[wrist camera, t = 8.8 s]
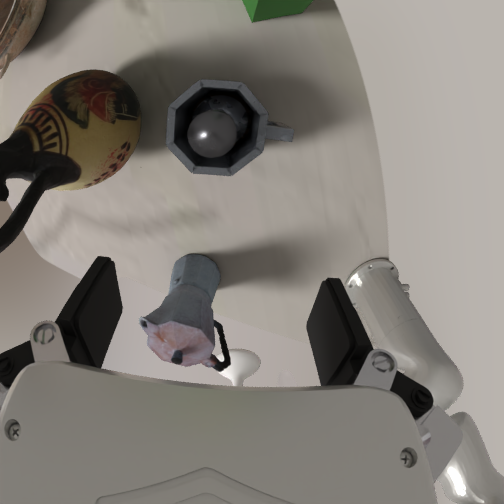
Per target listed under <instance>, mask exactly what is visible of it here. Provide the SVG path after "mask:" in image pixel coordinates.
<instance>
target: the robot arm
mask: <svg viewBox="0 0 504 504" xmlns="http://www.w3.org/2000/svg"><path fill="white" fill-rule="evenodd" d="M398 277H399V276H398V270H397V268H396V267H395V265H394V264H393V263H392V262H390V261H389V260H386V259H374V260H371V261H368V262H366V263H364V264H362V265H361V266H359V267H358V268H357V269H356V270H355V271H354V272H353V273H352V274H351V275H350V277H349V278H348V280H347V282H346V284H345V288H344V286H343V284H342V282H341V280H340V279H339V278H327V279H326V281H323V282H322V284H321V286H320V289H319V292H318V295H317V297H316V300H315V303H314V305H313V308H312V311H311V313H310V316H309V318H308V321H307V332H308V336H309V340H310V344H311V348H312V351H313V355H314V359H315V363H316V367H317V371H318V375H319V379H320V383H321V386H310V387H241V386H222V385H207V384H197V383H186V382H178V381H170V380H163V379H156V378H149V377H143V376H137V375H131V374H126V373H121V372H116V371H111V370H106V369H101V367H102V364H103V361H104V358H105V355H106V353H107V350H108V347H109V345H110V342H111V339H112V337H113V334H114V331H115V329H116V326H117V324H118V321H119V319H120V316H121V314H122V308H123V306H122V301H121V296H120V292H119V286H118V281H117V275H116V269H115V263H114V261H111V258H109V257H102V256H98V257H97V258H96V259H95V261H94V262H93V264H92V265H91V267H90V268H89V269H88V271H87V272H86V274H85V275H84V277H83V278H82V280H81V281H80V283H79V284H78V285H77V287H76V288H75V290H74V291H73V293H72V294H71V296H70V298H69V299H68V301H67V302H66V304H65V306H64V307H63V309H62V311H61V313H60V314H59V316H58V318H57V319H56V321H55V322H52V321H43V322H40V323H38V324H37V325H36V326H34V328H33V329H32V331H31V334H30V340H29V341H27V342H25V343H23V344H21V345H18V346H16V347H14V348H12V349H10V350H7V351H5V352H3V353H1V354H0V504H438V503H437V497H436V493H435V487H434V483H435V481H436V480H437V481H439V482H440V483H441V485H442V487H443V490H444V493H445V495H446V497H447V498H448V499H449V500H451V501H453V502H456V503H458V504H504V477H503V476H502V475H501V474H500V473H499V472H497V470H496V469H495V468H494V467H493V465H492V463H491V460H490V457H489V455H488V452H487V450H486V447H485V445H484V442H483V440H482V437H481V435H480V433H479V430H478V428H477V426H476V425H475V422H474V421H473V419H472V418H471V416H470V415H469V414H467V413H465V412H458V413H456V414H453V415H452V416H448V415H447V414H446V413H445V412H444V411H445V410H446V409H448V408H449V407H450V406H451V405H452V404H453V403H454V402H455V401H456V400H457V398H458V397H459V396H460V394H461V392H462V389H463V377H462V375H461V373H460V371H459V369H458V368H457V366H456V365H455V364H454V362H453V361H452V360H451V359H450V357H449V356H448V355H447V354H446V353H445V352H444V350H443V349H442V347H441V346H440V345H439V343H438V342H437V341H436V339H435V338H434V336H433V335H432V333H431V332H430V330H429V328H428V327H427V325H426V324H425V322H424V321H423V319H422V317H421V316H420V314H419V313H418V311H417V310H416V308H415V307H414V305H413V304H412V302H411V301H410V299H409V293H408V292H404V290H405V291H407V290H409V285H408V284H401V283H400V281H399V280H398ZM354 307H355V308H359V309H360V311H361V313H362V315H363V317H364V320H365V322H366V324H367V326H368V328H369V330H370V332H371V334H372V336H373V339H374V341H375V343H376V345H377V347H378V349H373V347H372V344H371V342H370V340H369V338H368V335H367V333H366V331H365V329H364V326H363V324H362V322H361V320H360V318H359V316H358V314H357V311H356V310H355V308H354ZM397 369H401V370H405V372H404V373H403V374H402V373H400V372H399V371H397Z"/></svg>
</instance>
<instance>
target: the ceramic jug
mask: <svg viewBox="0 0 504 504" xmlns="http://www.w3.org/2000/svg"><path fill="white" fill-rule="evenodd" d="M140 129H141V111H140V106H139V102H138V100H137V97H136V95H135V94H134V92H133V90H132V89H131V87H130V86H129V85H128V84H127V83H126V82H125V81H124V80H123V79H121V78H120V77H118V76H117V75H115V74H113V73H110V72H107V71H103V70H84V71H80V72H77V73H73V74H71V75H68V76H66V77H64V78H61V79H59V80H57V81H56V82H54V83H52V84H51V85H49V86H48V87H47V88H45V89H44V90H43V91H42V92H41V93H40V94H39V95H38V96H37V97H36V98H35V99H34V100H33V101H32V103H31V104H30V106H29V107H28V108H27V110H26V111H25V113H24V114H23V115H22V117H21V118H20V120H19V122H18V123H17V125H16V127H15V129H14V131H13V133H12V134H11V136H10V137H9V138H8V139H7V140H6V141H4V142H3V143H1V144H0V201H6V200H7V198H8V196H9V190H8V188H7V186H6V179H9V178H22V179H24V180H26V181H28V182H30V183H31V184H30V186H29V187H28V188H27V190H26V191H25V193H24V195H23V197H22V199H21V201H20V203H19V204H18V205H17V207H16V208H15V210H14V211H13V213H12V214H11V216H10V217H9V219H8V220H7V221H6V223H5V224H4V225H3V226H2V227H1V228H0V253H1V252H2V251H3V250H4V249H5V248H7V247H8V246H9V245H10V244H11V243H12V242H13V241H14V240H15V239H16V237H17V236H18V235H19V233H20V232H21V231H22V229H23V228H24V226H25V224H26V222H27V221H28V219H29V217H30V215H31V213H32V211H33V209H34V207H35V206H36V204H37V202H38V201H39V199H40V197H41V196H42V194H43V193H44V191H45V190H49V189H52V190H59V191H63V190H78V189H83V188H88V187H90V186H93V185H96V184H98V183H100V182H102V181H104V180H106V179H107V178H109V177H111V176H113V175H114V174H115V173H116V172H117V171H119V170H120V169H121V168H122V167H123V166H124V164H125V163H126V162H127V161H128V159H129V158H130V156H131V155H132V153H133V151H134V149H135V147H136V145H137V142H138V140H139V136H140ZM140 168H142V167H140Z"/></svg>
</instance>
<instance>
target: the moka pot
mask: <svg viewBox="0 0 504 504" xmlns="http://www.w3.org/2000/svg"><path fill="white" fill-rule="evenodd" d="M220 278H221V276H220V272H219V270H218V267H217V265H216V264H215V263H214V262H213V261H212V260H210V259H209V258H207V257H206V256H202V255H197V254H189V255H185V256H183V257H182V258H180V259H179V260H177V261H176V262H175V264H174V268H173V272H172V276H171V282H170V289H169V294H168V296H166V297H165V299H164V301H163V303H162V304H161V306H160V307H159V308H157V309H156V310H155V311H153V312H152V313H150V314H149V315H147V316H146V317H140V318H139V324H140V326H141V327H142V329H143V330H144V331H145V332H146V333H147V335H148V340H147V345H148V347H149V348H150V349H151V350H152V351H153V352H155V354H156V355H157V356H158V357H159V358H160V359H161V360H163V361H167V362H170V363H175V364H178V365H182V366H191V365H196V364H200V363H202V364H203V365H205V366H206V367H213V368H214V369H216V370H217V371H218V372H222V371H224V369H226V368H228V366H230V365H231V358H230V355H229V354H230V353H229V350H228V348H227V344H226V340H225V336H224V333H223V332H224V331H223V326H222V325H221V324H220V323H219V322H217V321H216V320H214V319H213V310H212V308H211V304H212V302H213V299H214V296H215V293H216V290H217V287H218V284H219V281H220ZM214 327H216V328H217V331H218V334H219V336H220V338H219V339H220V344H221V349H222V353H223V356H224V361H223V362H221V361H220V360H218V358H217V357H216V356H215V355H213V354H212V351H213V349H214V347H215V334H214Z"/></svg>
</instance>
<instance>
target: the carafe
mask: <svg viewBox="0 0 504 504" xmlns="http://www.w3.org/2000/svg"><path fill="white" fill-rule="evenodd" d="M215 95H226V96H230V97H232V98H234V99H236V100H238V101H239V102H240V103H241V104H242V105H243V107H244V108H245V110H246V113H247V116H248V125H247V129H246V131H245V133H244V135H243V136H242V138H241V139H240V140H239V141H237V142H236V143H235V144H234V145H233V147H232V148H231V149H230V150H229V151H228V152H227V153H226V154H224V155H222V156H219V157H214V158H209V157H204V156H202V155H200V154H198V153H196V152H195V151H194V150H193V149H192V147H191V146H190V144H189V141H188V129H189V126H190V124H191V122H192V118H193V114H194V112H195V109H196V108H197V106H198V105H199V104H200V103H201V102H202V101H204V100H205V99H207V98H209V97H212V96H215ZM267 113H268V112H267V111H266V109H265V108H264V107H263V106H262V104H261V103H260V102H259V101H258V100H257V98H256V97H255V96H254V95H253V94H252V92H251V91H250V90H249V89H248V88H247V87H246V85H245V84H244V83H242V82H235V81H223V80H206V79H201V80H199V81H197V82H196V83H195V84H194V85H192V86H191V87H190V88H189V89H188V90H186V91H185V92H184V93H183V94H182V95H181V96H179V97H178V98H177V99H176V100H175V101H174V102H173V103H171V104H170V105H169V107H168V115H167V131H166V145H167V147H168V148H169V149H170V150H171V152H172V153H173V154H174V155H175V156H176V157H177V158H178V159H179V160H180V161H181V162H182V163H183V164H184V165H185V166H186V168H187V169H188V170H189V171H190V172H191V173H192V172H193V174H209V175H223V176H231V175H234V174H235V173H236V172H238V171H239V170H240V169H241V168H243V167H244V166H245V165H247V164H248V163H249V162H251V161H252V160H253V159H255V158H256V157H257V156H259V155H260V154H261V153H262V151H263V150H264V143H265V138H266V139H274V140H281V141H288V142H292V139H293V133H294V129H292V128H290V127H288V126H286V125H284V124H282V123H279V122H272V121H268V115H269V114H267Z"/></svg>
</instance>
